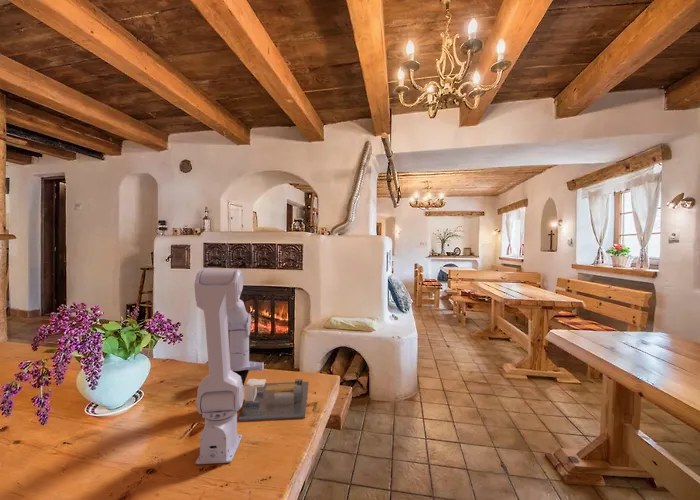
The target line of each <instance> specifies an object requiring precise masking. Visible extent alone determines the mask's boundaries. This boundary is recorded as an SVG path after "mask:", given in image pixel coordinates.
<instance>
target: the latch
mask: <svg viewBox="0 0 700 500" xmlns="http://www.w3.org/2000/svg"><path fill="white" fill-rule="evenodd" d="M266 382H267V380H266V378H264V379H263V378H262V379H261V378H260V379H257V378H249V379H248V380H247V382H246V384H244V402H246V401H254V400H255V398H256V395H257V387H264V385H265V383H266Z"/></svg>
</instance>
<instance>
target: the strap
mask: <svg viewBox="0 0 700 500" xmlns="http://www.w3.org/2000/svg"><path fill="white" fill-rule="evenodd" d="M294 386H300V383H295V384H283V385H271V386H267V387H266V390H265V393H267V392H279V391H291V390H294Z"/></svg>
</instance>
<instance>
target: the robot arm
mask: <svg viewBox="0 0 700 500" xmlns="http://www.w3.org/2000/svg"><path fill="white" fill-rule="evenodd" d="M193 287H194V296H195V297H194V298H195V302H196V303H195V304H196V307H197V308H198V309H200V310H202V311H203V317H204V324H205V338H206V349H207V351H206V352H207V362H208V373H209V374H207V375H206V376H204V378H202V379H201V381H200V383H199V385H198V388H197V390H196V391H197V397H196V406H195V407H196V410H197V412H198V413H199V414H201V415H202V416H201V417H202V419H204V427H203V430H202V431H201V433H200V436H199V455H198V457H197V459H196V460H195V464H196V465H209V464H210V465H211V464H225V463H231V462H232V461H233V459H234V457H235V454H236V453H237V449H238V447H239V445H240V442H241V440H242V438H243V435H242V434H238V412H239V411H240V410H241V408H243V405H244V399H245V382H246V379H247V376H248V374H249V372H250V371H259V372H263V371H264V367H265V365H264V363H265V362H263V361H262V362H259V361H251V360H250V335H251V327H252V326H251V325H252V316H251V315H252V314H251V313H249V312H247V309H246V306H245V303H244V300H242V299H240V298H241V295H242V291H243V289H244V274H243V271H241V269H239V268H237V269H199V271H198V272H197V273H196V276H195V281H194V286H193ZM229 351H230V352H229Z"/></svg>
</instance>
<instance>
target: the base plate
mask: <svg viewBox="0 0 700 500" xmlns="http://www.w3.org/2000/svg"><path fill="white" fill-rule="evenodd" d="M295 383H300V386H294V390H291V391H279V392H267V393H265V390H266V387H267V386H271V385H283V384H295ZM308 393H309V381H304V380H303V379H302V378H298V379H297V378H295V380H294V381H292V382H291V381H288V382H267V383H266V382H265V385H264V387H257V395H256V398H255V400H254V401H246V402H245V401H243V407H242V409H241V411H240V413H239V415H238V421H239V422H242V421H243V422H246V421H248V422H249V421H264V420H265V421H266V420H268V421H269V420H286V419H302V418H303V419H304V418H306V410H307V404H308V403H307V402H308Z"/></svg>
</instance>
